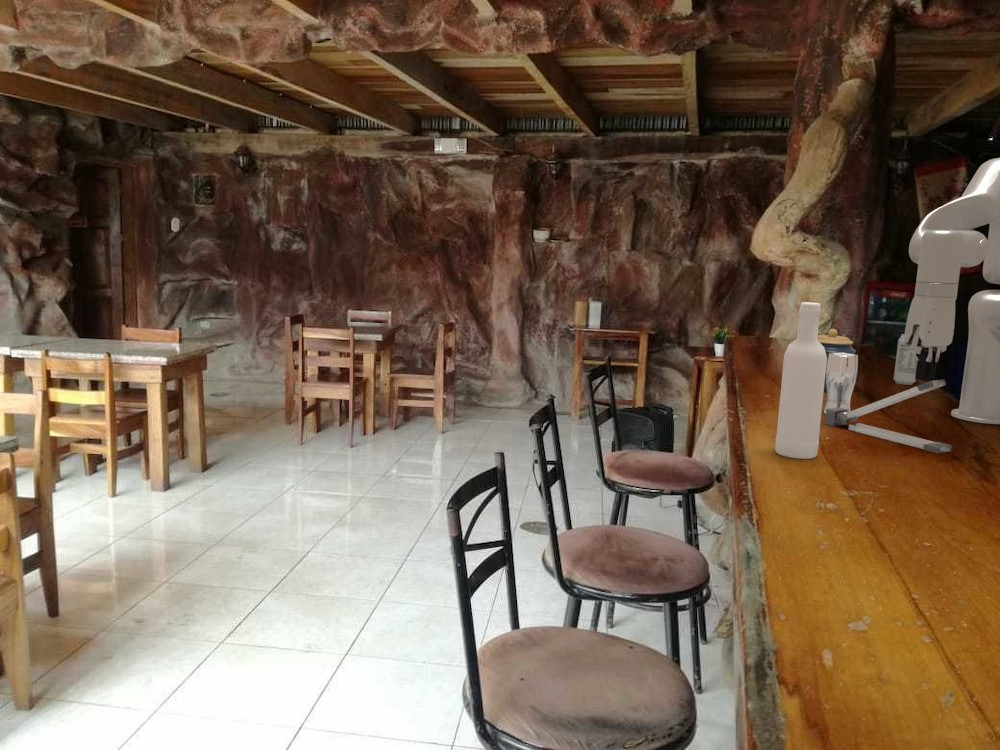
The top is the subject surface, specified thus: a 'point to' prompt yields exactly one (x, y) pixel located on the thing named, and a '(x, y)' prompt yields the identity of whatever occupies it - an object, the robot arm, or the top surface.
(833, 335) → the canister
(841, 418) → the upper jaw
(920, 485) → the top surface
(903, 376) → the energy drink can
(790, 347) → the bottle
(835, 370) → the beer glass
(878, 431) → the tongs base
